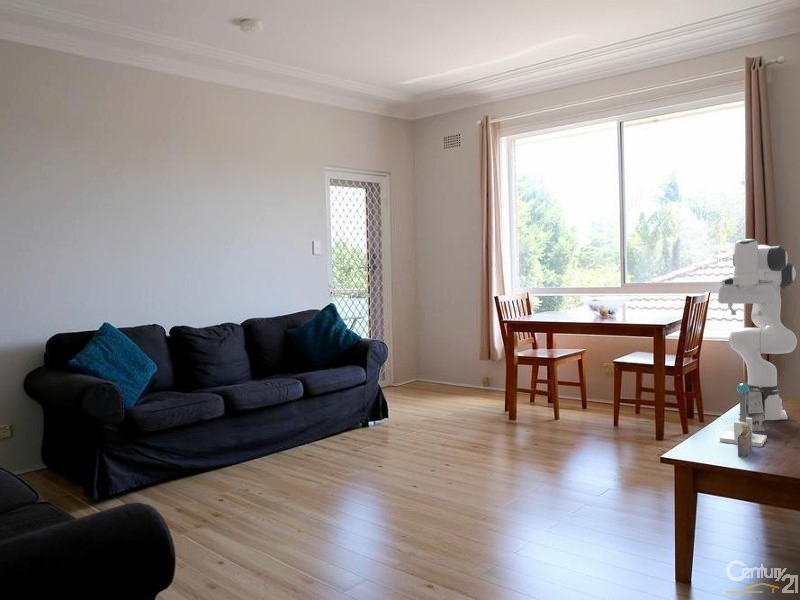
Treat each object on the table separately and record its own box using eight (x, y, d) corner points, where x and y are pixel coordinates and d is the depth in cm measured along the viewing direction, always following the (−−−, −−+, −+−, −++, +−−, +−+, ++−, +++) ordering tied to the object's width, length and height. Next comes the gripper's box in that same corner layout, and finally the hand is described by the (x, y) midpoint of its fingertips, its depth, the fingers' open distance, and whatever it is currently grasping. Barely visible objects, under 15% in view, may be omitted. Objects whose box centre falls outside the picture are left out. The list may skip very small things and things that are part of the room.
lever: (738, 428, 250) (738, 381, 249) (750, 430, 247) (750, 382, 246) (736, 432, 245) (735, 384, 244) (747, 433, 243) (747, 385, 242)
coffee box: (765, 431, 258) (765, 391, 257) (748, 431, 259) (747, 391, 258) (757, 425, 267) (757, 387, 266) (741, 425, 268) (740, 387, 267)
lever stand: (726, 434, 255) (726, 414, 255) (766, 439, 247) (766, 418, 246) (719, 441, 246) (719, 421, 245) (761, 446, 237) (761, 425, 237)
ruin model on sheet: (742, 449, 237) (742, 423, 236) (751, 450, 235) (751, 424, 234) (736, 457, 228) (736, 430, 227) (746, 458, 226) (745, 431, 225)
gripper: (777, 279, 251) (778, 314, 251) (719, 280, 262) (720, 314, 263) (776, 279, 245) (776, 316, 246) (717, 280, 257) (717, 315, 258)
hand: (746, 315), depth 255 cm, fingers open, 8 cm apart
